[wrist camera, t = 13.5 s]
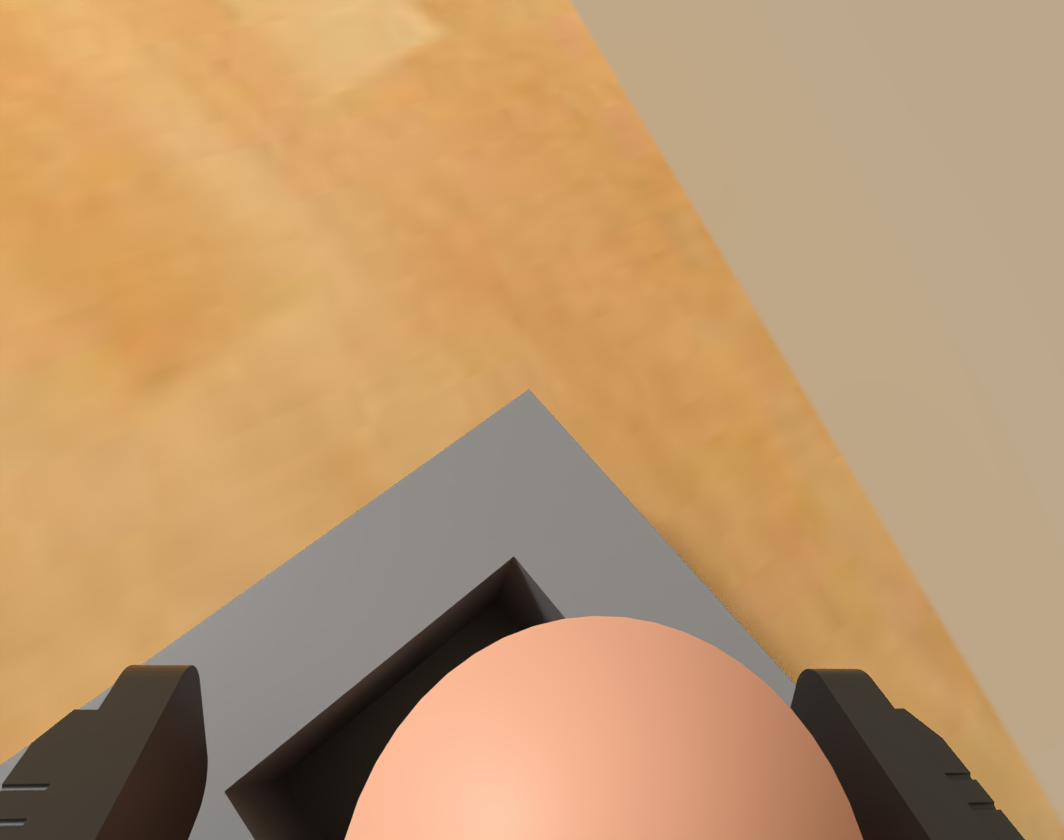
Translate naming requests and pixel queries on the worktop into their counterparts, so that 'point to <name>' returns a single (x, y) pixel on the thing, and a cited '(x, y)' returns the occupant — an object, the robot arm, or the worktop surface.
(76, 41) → the worktop surface
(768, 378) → the worktop surface
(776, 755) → the peg
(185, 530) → the worktop surface
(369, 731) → the socket block
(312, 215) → the worktop surface
